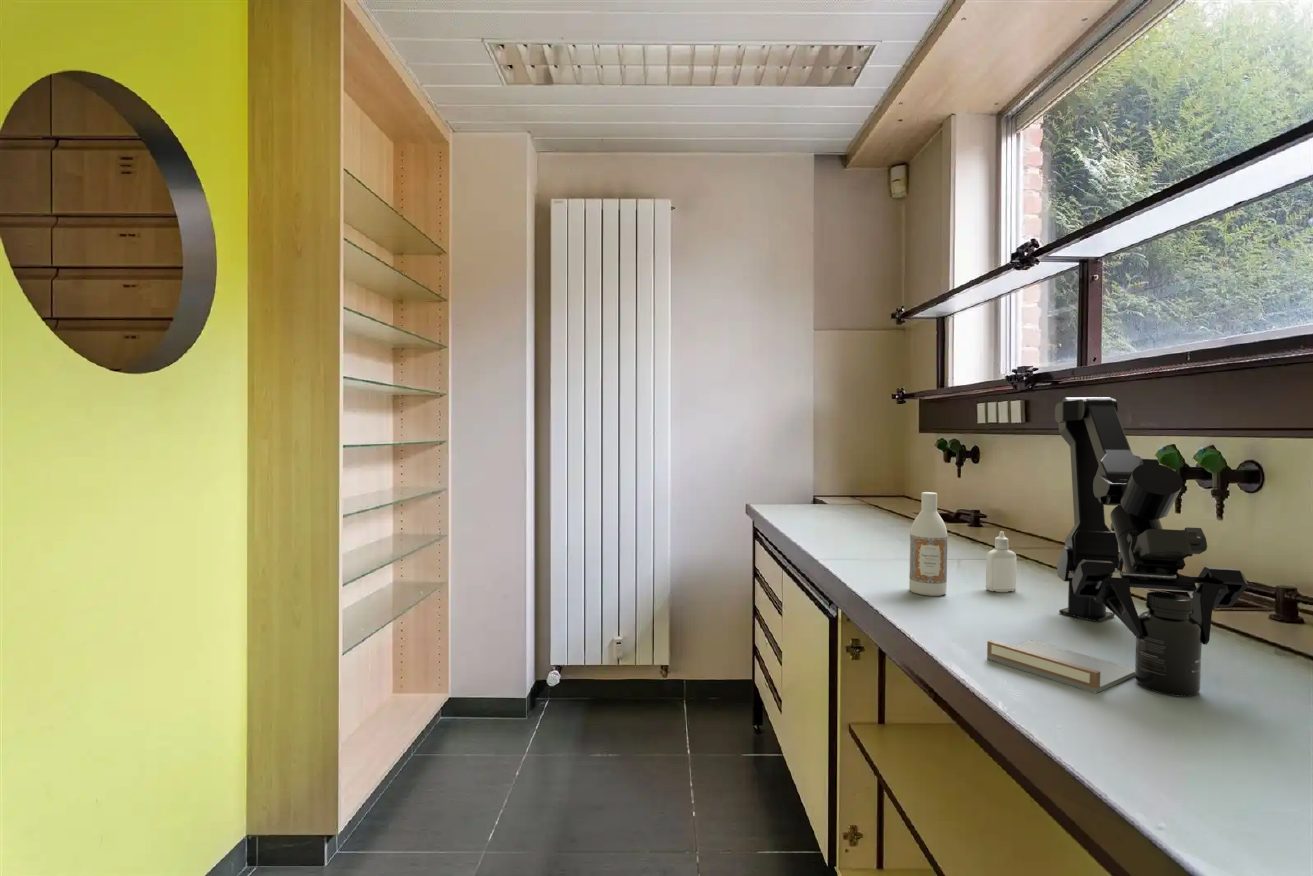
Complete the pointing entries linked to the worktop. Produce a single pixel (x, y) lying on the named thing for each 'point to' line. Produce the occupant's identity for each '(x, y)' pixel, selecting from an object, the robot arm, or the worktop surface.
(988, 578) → the eye dropper bottle
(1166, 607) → the supplement bottle
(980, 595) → the worktop surface
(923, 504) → the bath foam
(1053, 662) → the shelf board
